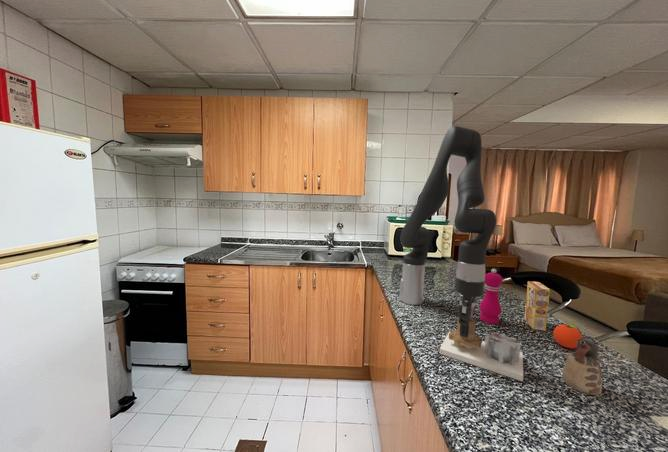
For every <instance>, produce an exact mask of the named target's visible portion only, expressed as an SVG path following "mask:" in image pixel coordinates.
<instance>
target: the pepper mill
mask: <svg viewBox="0 0 668 452" xmlns="http://www.w3.org/2000/svg"><path fill="white" fill-rule="evenodd" d="M490 271H491V272H487V273H485V281H484V290H485V295H484V297H483V298H482V299H481V301H480V304H479V311H480V312H481V313H480V315H479V318H480V320H481V321H482V322H485V323H487V324H491V325H494V324H495V325H496V324H499V323H500V317H499V316H500V315H501V314H502V306H501V303H500V300H499V291H501V285H502V284H503V277H502V276H501V274H499V273H497V269H496V268H492V269H491V270H490Z"/></svg>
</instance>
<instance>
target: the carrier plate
mask: <svg viewBox="0 0 668 452" xmlns="http://www.w3.org/2000/svg"><path fill="white" fill-rule="evenodd" d="M449 333H450V331H448V333H447V334H446V336H445V339H444V340H443V342H442V343H441V346H440V347H439V354H440V355H442V356H445V357H448V358H451V359H454V360H457V361H460V362H464V363H467V364H470V365H472V366H476V367H478V368H481V369H485V370H486V371H490V372H493V373H495V374H496V373H497V374H499V375H502V376H505V377H508V378H511V379H514V380H517V381H520V382H524V356H523V354H524V353H523V351H520V355H519V363H518V362H515V365H514V366H511V365H510V364H507V363H503V364H500V363H498V361H496V360H494V359H489V358H488V357H487V354H488V353H485V343H486V340H485V341H484V340H482V344H481V347H480V348H477V347H471V349H468V348H467V347H465V346H462V345H456V344H454V341H453V340H450V339H449Z"/></svg>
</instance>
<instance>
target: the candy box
mask: <svg viewBox="0 0 668 452" xmlns="http://www.w3.org/2000/svg"><path fill="white" fill-rule="evenodd" d="M550 292H551V289H550V288H548V286H546V285H544V284H543V283H541V282H539V281H531V280H530V281H529V280H528V281H527V288H526V297H525V298H526V299H525V307H524V308H525V309H524V320H525V322H526V323H527V324H528V325H529V326H530V328H532V330H536V331H544V332H546V331H547V321H548V313H549V312H548V311H549V302H550Z"/></svg>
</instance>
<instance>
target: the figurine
mask: <svg viewBox="0 0 668 452" xmlns="http://www.w3.org/2000/svg"><path fill="white" fill-rule="evenodd" d="M599 350H600V347H599V346H598V345H597V344H596V343H595V342H594V341H593V340H591V339H589V338H587V337H582V338H580V339H578V340H577V347H576V351H572V352H570V353H569V354H568V356H567V358H566V359H565V360H566V361H565V364H564V366H563V367H564V368H563V370H562V379H563V381H564V383H566V384H567V386H569V387H571V388H572V389H574V390H575V391H579V392H581V393H582V394H587V395H590V396H593V395H594V396H599V395H600V394H601V393H602V390H603V381H602V377H603V376H602V371H603V370H602V367H601V365H600V363H599V362H598V361H600V357H598V354H599Z"/></svg>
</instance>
